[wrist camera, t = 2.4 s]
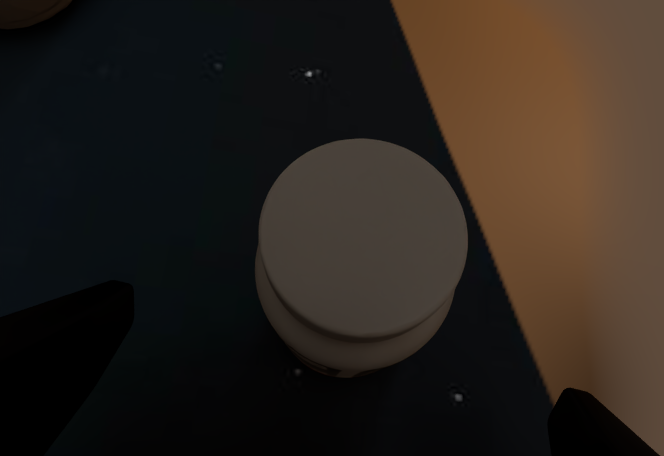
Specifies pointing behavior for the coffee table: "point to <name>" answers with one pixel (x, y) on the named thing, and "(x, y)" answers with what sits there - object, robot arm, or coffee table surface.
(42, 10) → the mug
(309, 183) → the pill bottle
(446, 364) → the coffee table surface
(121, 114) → the coffee table surface
